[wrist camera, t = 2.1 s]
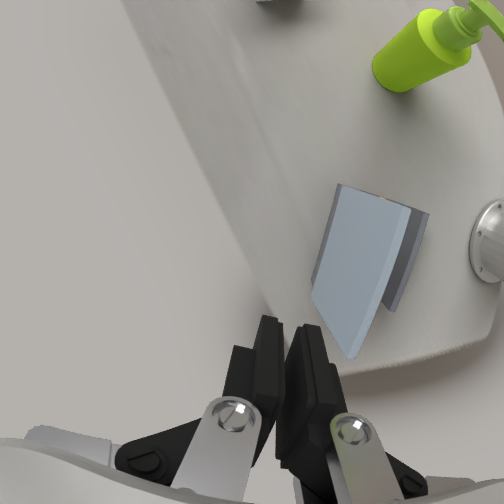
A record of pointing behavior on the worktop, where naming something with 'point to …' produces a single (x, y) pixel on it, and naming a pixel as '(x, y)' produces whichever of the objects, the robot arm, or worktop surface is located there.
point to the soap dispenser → (434, 44)
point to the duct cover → (357, 264)
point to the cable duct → (404, 256)
